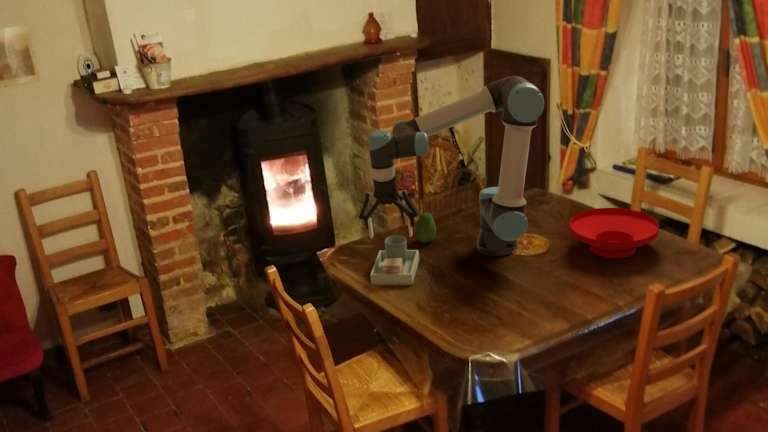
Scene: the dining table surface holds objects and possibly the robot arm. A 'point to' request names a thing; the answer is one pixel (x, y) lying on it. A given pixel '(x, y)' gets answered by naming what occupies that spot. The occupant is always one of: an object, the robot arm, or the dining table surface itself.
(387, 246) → the cup
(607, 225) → the bowl
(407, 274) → the tray
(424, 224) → the avocado
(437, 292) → the dining table surface
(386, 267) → the beech block
